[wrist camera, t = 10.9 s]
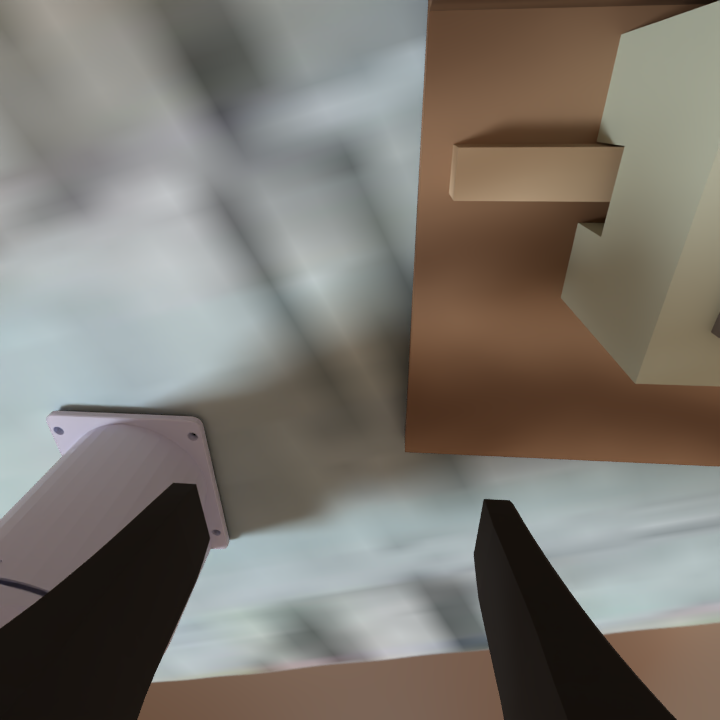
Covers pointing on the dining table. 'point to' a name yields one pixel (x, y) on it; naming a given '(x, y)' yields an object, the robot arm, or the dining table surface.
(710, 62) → the cabinet block
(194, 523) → the robot arm
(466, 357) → the wall board
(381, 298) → the dining table surface
